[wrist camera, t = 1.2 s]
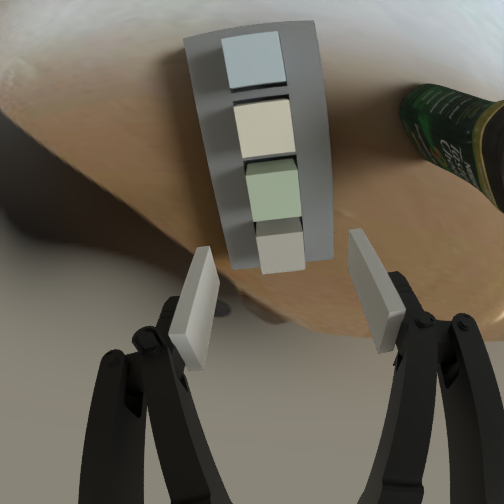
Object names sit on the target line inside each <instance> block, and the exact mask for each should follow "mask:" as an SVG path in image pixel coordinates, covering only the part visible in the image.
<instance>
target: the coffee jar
mask: <svg viewBox="0 0 504 504" xmlns="http://www.w3.org/2000/svg"><path fill="white" fill-rule="evenodd" d="M400 117H401V120H402V122H403V125H404V127H405V129H406V131H407V133H408V135H409V137H410V138H411V140H412V142H413V144H414V145H415V147H416V148H417V150H418V151H419V153H420V154H421V155H422V156H423V157H424V158H425V159H426V160H427V161H429V162H431V163H433V164H435V165H437V166H439V167H441V168H443V169H445V170H447V171H449V172H451V173H453V174H455V175H457V176H458V177H460V178H462V179H463V180H465V181H467V182H468V183H470V184H471V185H473V186H474V187H476V188H477V189H478V190H479V191H481V192H482V193H483V194H484V195H485V196H486V197H487V198H488V199H489V200H490V201H491V203H492V204H493V205H494V206H495V207H496V208H497V209H498V210H499V211H501V212H502V213H504V100H501V101H498V102H492V101H488V100H484V99H481V98H478V97H475V96H472V95H469V94H466V93H462V92H459V91H456V90H453V89H450V88H447V87H444V86H440V85H435V84H423V85H421V86H419V87H417V88H416V89H414V90H413V91H411V92H410V93H409V94H408V95H407V96H406V97H405V98H404V100H403V101H402V103H401V106H400Z"/></svg>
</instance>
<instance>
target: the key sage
mask: <svg viewBox="0 0 504 504" xmlns="http://www.w3.org/2000/svg"><path fill="white" fill-rule="evenodd" d="M246 182H247V188H248V193H249V199H250V205H251V211H252V217H253V222H257V221H265V220H273V219H282V218H291V217H300V216H302V213H301V201H300V190H299V179H298V170H297V167H296V165H295V163H294V160H293V158H291V159H282V160H274V161H265V162H258V163H250V164H248V165H247V170H246Z"/></svg>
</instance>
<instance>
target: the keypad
mask: <svg viewBox="0 0 504 504" xmlns="http://www.w3.org/2000/svg"><path fill="white" fill-rule="evenodd" d="M274 31H278V35H279V40H280V46H281V52H282V57H283V63H284V70H285V76H286V81H285V82H282V83H272V84H264V85H256V86H249V87H242V88H236V89H232V88H230V85H229V80H228V74H227V69H226V63H225V58H224V52H223V47H222V41H221V39H224V38H229V37H235V36H241V35H248V34H256V33H264V32H274ZM183 40H184V46H185V51H186V57H187V62H188V67H189V73H190V78H191V83H192V88H193V93H194V98H195V103H196V108H197V113H198V118H199V123H200V128H201V133H202V138H203V142H204V147H205V152H206V157H207V161H208V166H209V170H210V175H211V180H212V184H213V189H214V193H215V198H216V202H217V207H218V211H219V215H220V220H221V224H222V228H223V233H224V237H225V241H226V246H227V250H228V254H229V258H230V262H231V267H232V270H237V269H246V268H256V267H261V264H260V258H259V252H258V246H257V240H256V223H257V222H253V217H252V211H251V205H250V199H249V193H248V188H247V182H246V170H247V165H248V164H250V163H258V162H265V161H274V160H282V159H291V158H293V160H294V163H295V165H296V167H297V170H298V179H299V190H300V201H301V213H302V216H300V217H299V219H300V222H301V226H302V230H303V240H304V256H305V262H310V261H319V260H327V259H334V208H333V180H332V162H331V147H330V134H329V123H328V113H327V104H326V95H325V87H324V79H323V72H322V65H321V58H320V52H319V46H318V40H317V34H316V29H315V24H314V21H287V22H274V23H264V24H256V25H248V26H241V27H235V28H229V29H224V30H218V31H213V32H209V33H204V34H200V35H196V36H192V37H188V38H184V39H183ZM275 99H288V100H289V103H290V110H291V118H292V126H293V134H294V142H295V151H296V152H286V153H278V154H269V155H261V156H254V157H247V158H242V153H241V147H240V142H239V136H238V130H237V125H236V119H235V113H234V108H233V107H234V106H236V105H238V104H245V103H252V102H259V101H267V100H275Z"/></svg>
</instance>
